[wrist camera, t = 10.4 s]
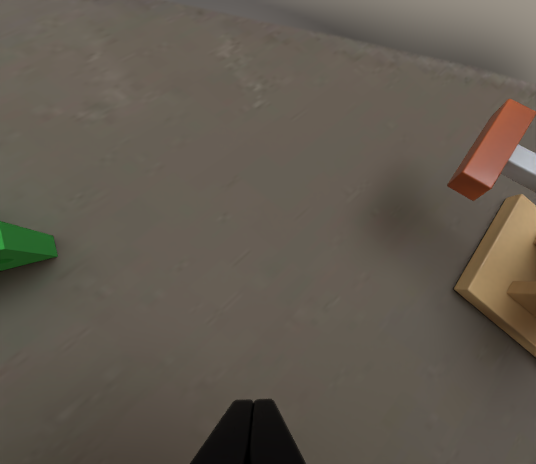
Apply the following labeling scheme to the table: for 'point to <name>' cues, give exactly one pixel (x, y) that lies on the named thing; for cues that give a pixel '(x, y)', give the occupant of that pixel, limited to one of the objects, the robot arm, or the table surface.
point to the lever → (498, 153)
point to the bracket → (506, 272)
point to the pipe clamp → (23, 246)
